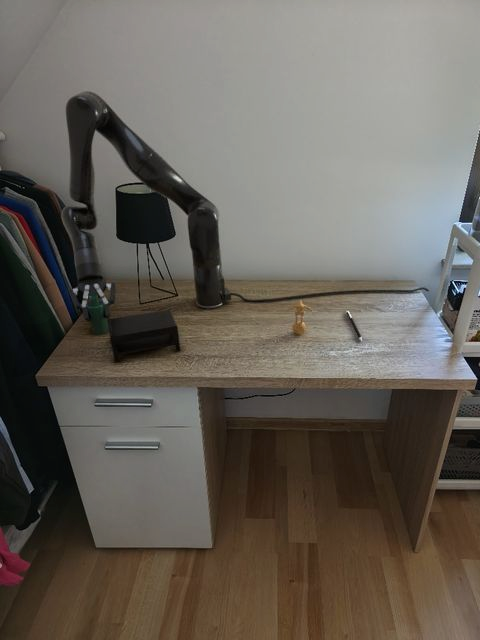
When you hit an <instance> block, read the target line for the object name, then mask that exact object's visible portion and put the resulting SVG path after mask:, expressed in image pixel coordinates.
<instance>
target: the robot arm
mask: <svg viewBox="0 0 480 640" xmlns="http://www.w3.org/2000/svg"><path fill="white" fill-rule="evenodd" d="M65 119H66V127H67V135H68V147H69V181H68V183H69V184H68V185H69V186H68V195H69V198H70V199H71V200H72V201H74V202H77V203H79V204H83V205H85V206H82V205H81V206H79V205H67V206H64V207H63V209H62V210H61V215H60V216H61V217H60V218H61V221H62V224H63V226H64V228H65V231H66V232H67V234H68V236H69V238H70V241H71V244H72V250H73V256H74V267H75V274H76V278H77V286H76V287H75V288H68V290H67V291H68V293H69V295H70V298H71V299H72V301H73V304H74V306H75V308H76V309H77V310H82V314H83V318H84V320H85V321H86V322H90V318H89V314H88V310H87V304H88V303H90V301H89V296H91V295H97V296H98V299H100V301H102V302H103V304H104V310H105V315H106V319H107V320H108V318H107V316H110V317H111V309H110V306H111V305H114V304H115V301H116V293H117V292H116V291H117V286H116V283H115V282H112V283H107V282H106V281H105V276H104V272H103V266H102V265H103V264H102V261H101V260H102V259H101V257H100V254H99V249H98V244H97V243H98V242H97V238H96V237H95V235H94V234H93V233H90V232H88V231H92V230H95V229H96V228H97V226H98V224H99V217H98V212H97V208H96V203H95V185H96V171H95V166H94V165H95V164H94V160H93V142H94V136H95V133H98V134H99V135H100V136H102V137H103V138H104V139H105V140H106V141H108V143H110V144H111V145H112V147H113V148H114V149H115V151H116V153H117V154H118V156H119V157H120V159H121V161H122V162H123V163H124V165H125V166H126V168H127V169H128V171H130V173H131V174H132V175H133V176H135V178H136V179H138V180H139V182H141V183H142V184H143V185H145V187H147V188H149V189H150V190H151V191H153V192H154V193H156V192H157V194H158V193H159V194H158V195H160V194H161V195H160V196H162V197H163V198H166V199H168V200H169V201H171V202H172V203H174V204H175V205H176V206H177V207H178V208H179V209H181V211H182V212H183V213H184V214H185V215H186V216H187V222H186V223H187V231H188V241H189V248H190V251H191V256H192V257H191V258H192V259H191V260H192V268H193V269H192V270H193V279H194V280H193V282H194V290H195V303H196V306H197V307H199V308H200V309H201V308H202V309H208V310H209V309H217V308H220V307H222V306H225V305H226V304H227V303H226V302H227V301H232V296H235V297H238V298H240V299H241V300H242V301H244V302H247V303H263V302H275V301H283V300H291V299H299V298H306V297H307V298H308V297H316V296H324V295H334V294H347V293H348V294H349V293H350V294H351V293H414V292H418V291H421V290H424V291H425V292H430V289H428V288H427V287H423V286H421V287H418V288H413V289H352V290H349V289H348V290H336V291H325V292H324V291H323V292H315V293H308V294H297V295H291V296H282V297H276V298H275V297H274V298H260V299H249V298H245V297H243V296H242V295H241V294H240V293H236V292H231V291H230V290H229V288H228V287H226V286H225V277H224V275H223V265H222V264H223V263H222V247H221V244H220V243H221V242H220V229H219V221H220V212H219V209H218V208H217V206H216V204H214V202H212V201H211V200H209V199H208V198H207V197H205V196H204V195H203V194H201V193H200V192H199V191H198V190H197V189H195V188H194V187H193V186H192V185H190V184H189V183H188V182H187V181H186V180H185V179H184V178H183V177H182V175H180V174H179V173H178V171H177V170H175V168H173V167H172V165H170V164H169V163H168V162H167V160H165V159H164V158H163V157H162V156H161V155H160V154H159V153H158V152H157V151H156V150H155V149H153V148H152V147H151V146H150V145H149V144H148V143H147V142H145V140H144V139H143V138H142V137H140V136H139V135H138V134H137V133H136V132H135V131H133V129H132V128H131V127H129V126H128V125H127V124H126V123H125V122H124V121H123V120H122V119H121V117H120V116H119V115H118V114H117V113H116V111H114V110H113V108H112V107H110V105H109V104H108V103H107V102H106V101H105V100H104V99H103V97H101V96H100V95H99V94H97V93H96V92H93V91H89V90H83V91H81V92H79V93H76V94H74V95H73V96H71V97H70V98H69V99H68V100H67V102H66V104H65ZM106 289H108V291H109V292H110V293H109V299H108V298H107V297H106V295H105V291H106ZM78 292H79V293H80V294H81V295H82V303H79V300H78V298H77V297H78Z"/></svg>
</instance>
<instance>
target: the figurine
mask: <svg viewBox="0 0 480 640" xmlns="http://www.w3.org/2000/svg"><path fill="white" fill-rule="evenodd" d="M293 309H296V310H295V312H294V316H295V321H294V322H293V324H292V326H291V328H292V331H293V333H295V334H296V335H302V334H304V333H305V331H306V329H307V327H306V324H305V322H304V321H303V320H304V316H305V311H304V309H307V310H310V312H311V313H312V314H313V315H315V312H314V311H313V308H311V307H310V306H308V305H306V304H304V303H303V301H302V300H301V299H298V301H297V303H296V304H295V305H293V306H291V307H289V308H288V309H286V311H285V313H284V315H286V314H287V313H288V312H289V311H290V310H293ZM298 316H301V317H300V320H298V319H299V318H298Z"/></svg>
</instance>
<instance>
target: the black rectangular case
mask: <svg viewBox="0 0 480 640" xmlns="http://www.w3.org/2000/svg"><path fill="white" fill-rule="evenodd" d="M107 323H108V327H109V331H108V335H109V339H110V344H111V349H112V353H113V359H114V363H120V356H122V355H128V354H134V353H139V352H144V351H151V350H157V349H161V348H167V347H168V348H169V347H174V346H175V347H174V348H175V352H181V345H180V337H179V328H178V324H176V321H175V317H174V316H173V313H172V311H171V309H165V310H158V311H152V312H144V313H138V314H132V315H125V316H120V317H113V318H111V315H110V316H107Z"/></svg>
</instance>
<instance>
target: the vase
mask: <svg viewBox="0 0 480 640" xmlns="http://www.w3.org/2000/svg"><path fill="white" fill-rule="evenodd" d="M99 299H100V298H98V296H97V295H91V296H89V303H88V304H87V310H88V314H89V318H90V321H89V322H90V327H91V330H92V331H91V332H92V334H93V335H104V334H106V333H109V326H108V318H107V319H106V315H105V310H104V303H103V302H102V300H99Z"/></svg>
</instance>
